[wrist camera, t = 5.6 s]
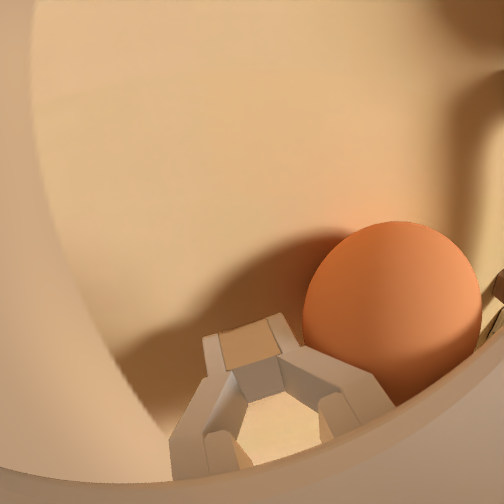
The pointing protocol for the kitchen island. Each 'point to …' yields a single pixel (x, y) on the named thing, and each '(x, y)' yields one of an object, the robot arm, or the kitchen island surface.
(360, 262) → the ball
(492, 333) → the skincare box
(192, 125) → the kitchen island surface
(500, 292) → the bridge
